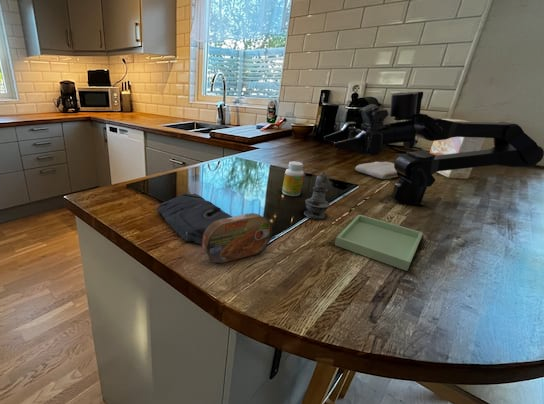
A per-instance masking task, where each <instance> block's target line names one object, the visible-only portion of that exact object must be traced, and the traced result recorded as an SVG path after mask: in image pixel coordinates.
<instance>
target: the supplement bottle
mask: <svg viewBox="0 0 544 404" xmlns="http://www.w3.org/2000/svg"><path fill="white" fill-rule="evenodd" d="M303 167H304V163H303V162H300V161H289V162H288V168H286V170H285V172H284V175H283V177H284V178H283V184H282V189H281V192H282V194H283V195H286V196H288V197H298V196H300V195H301V193H302V192H301V191H302V187H303V180H304V176H305V172H304V170H302V169H303Z"/></svg>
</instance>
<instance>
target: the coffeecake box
mask: <svg viewBox="0 0 544 404" xmlns="http://www.w3.org/2000/svg"><path fill="white" fill-rule="evenodd" d="M443 119H444V120H448V121H454V122H471V121H468V120H464V119H459V118H458V119H455V118H443ZM485 139H486V138H477V137H452V138H449V139H445V140H437V141H432V145H431V147H430V151H429V153H431V154H434V155H435V156H437V155H445V154H454V153H462V152H471V151H479V150H482V149H481V148H482V146H483V144H484V142H485ZM472 170H473V168H464V169H455V170H446V171H438V172H436V173H437V174H439V175H442V176H443V177H445V178H447V179H464V180H465V179H466V180H468V179H469V178H470V175H471V173H472Z"/></svg>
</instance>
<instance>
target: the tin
mask: <svg viewBox="0 0 544 404" xmlns="http://www.w3.org/2000/svg"><path fill="white" fill-rule="evenodd" d="M272 235H273V225H272V223H271V221H270V220H269V219H268V218H267V217H265V216H262V215H261V214H259V213H255V212H251V213H246V214H240V215H235V216H232V217H230V218H225V219H220V220H217V221H215V222H213V223H212V224H210V225H209V226H208V227H207V229H206V230H205V232H204V234H203V239H202V244H201V245H202V250H203V252H204V253H205V254H206V255H207V256H208V258H209V259H210V260H211V261H213V262H214V263H220V264H224V263H228V262H231V261H235V260H239V259H243V258H246V257H250V256H253V255H257V254H259V253H261V252H262V251H264V249H265V248H266V247H267V246H268V245H269V243H270V241H271V239H272Z"/></svg>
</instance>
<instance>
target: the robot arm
mask: <svg viewBox="0 0 544 404" xmlns="http://www.w3.org/2000/svg"><path fill="white" fill-rule="evenodd" d="M423 98H424V92H423V91H409V92H404V91H401V92H396V93H395V92H394V93H391V96H390V107H389V108H390V109H389V112H388V109H383V108H381V107H380V106H378V105H377V104H373V103H370V104H367V105H366V106H364V107H362V108H360V109H359V110H358V113H359V115H360V116H361V118H362V122H363V123H361V124H359V123H357V122H355V121H346V122H345V123H344V125H343V127H342V128H341V129H340V130H337V131H335V132H332V133H330V134H328V135H324V136H323V141H325V142H331V143H333V147H334V148H336V149H340V150H344V151H349V152H352V153H356V154H361V155H364V156H369V157H374V156H375V157H376V156H379V155H380V153H382V152H383V151H382V150H383V147H384V148H386V147H389V146H390V145H393V144H400V143H402V147H404V148H406V149H409V150H412V149H413V148H414V147H415V145H417V143H419V141H418V140H417V139H416V138H420V139H423V140H426V141H430V142H433V141H437V140H445V139H449V138H452V137H477V138H485V139H493V147H491V148H488V149H480V150H479V151H471V152H462V153H454V154H445V155H437V156H435V155H434V154H431V153H430V151H429V152H428V151H426V150H424V149H419V150H417V151H416V150H415V151H408V150H407V151H405V152H406V153H403V154H400V155H399V156H398V157H397V158H396V159H395V161H394V162H393V163H394V168H395V170H396V171H397V176H398V177H397V178H398V180H397V183H395V184H394V186H393V189H392V193H391V194H390V196H391V197H392V198H393V199H394V201H395V202H396V203H397V204H403V205H413V206H421V207H423V206H424V205H425V204H424V202H423V199H424V196H425V193H426V190H427V189H428V187H432V185H433V184H435V182H436V178H435V177H434V176H433V175H434V174H436V173H437V172H438V171H446V170H455V169H464V168H472V169H474V168H483V167H491V166H501V167H510V168H524V169H525V168H533V167H535V166H537V164H538V163H540V162H541V161H542V159H543V158H544V148H542V146H540V145H538V144H537V142H536V141H535V140H534V139H533V138H532V137H531V136H529V135H528V134H527V133H525V131H524V130H523V128H522V127H521V126H520V125H519V124H518V123H513V122H506V121H500V122H490V121H489V122H487V121H486V122H485V121H483V122H482V121H470V122H454V121H448V120H444V119H445V118H440V117H439V118H438V117H433V116H430V115H428V114H426V113H422V112H421V110H422V109H421V108H422V101H423ZM380 108H381V109H380ZM388 116H389V117H391V118H393V120H394V122H388V123H387V122H386V123H385V122H384V121H385V119H386V118H387V117H388Z"/></svg>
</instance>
